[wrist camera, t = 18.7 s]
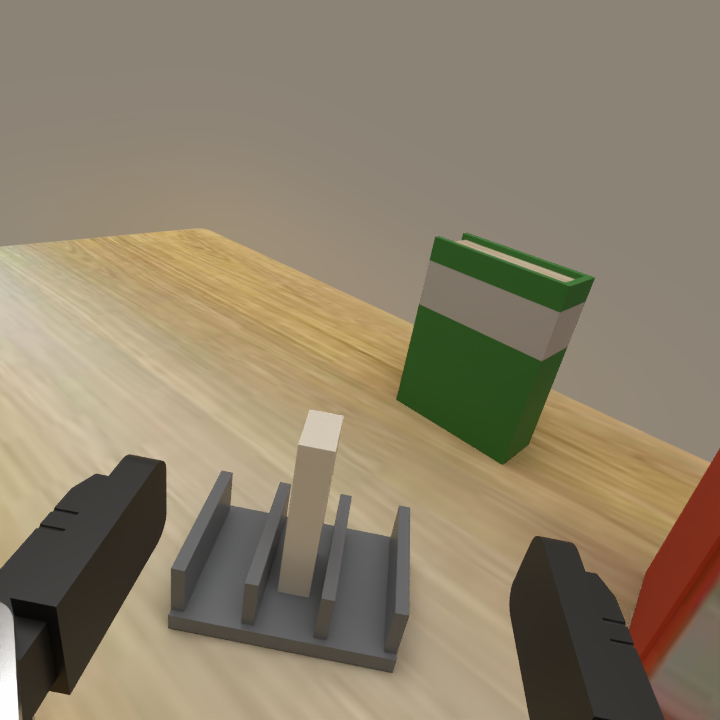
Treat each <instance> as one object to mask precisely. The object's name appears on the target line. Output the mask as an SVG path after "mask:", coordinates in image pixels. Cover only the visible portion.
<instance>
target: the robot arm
mask: <svg viewBox="0 0 720 720" xmlns="http://www.w3.org/2000/svg"><path fill="white" fill-rule="evenodd" d="M165 521H166V464H165V462H164V461H161V460H156V459H151V458H146V457H140V456H135V455H126V456H125V457H124V458H123V459H122V460H121V461H120V463H119V464H118V465H117V466H116V468H115V469H114V470H113V471H112V473H111V474H110V475H109V476H106V475H100V474H94V475H93V476H91V477H89V478H88V479H86V480H85V481H83V482H81V483H80V484H78V485H76V486H75V487H73V488H71V489H70V491H69V492H68V493H67V494H66V495H65V496H64V497H63V499H62V500H61V501H60V502H59V503H58V504H57V505H56V507H55V508H54V511H53V512H50V513H49V514H48V516H47V517H46V518H45V519H44V520H43V521H42V522H41V524H40V527H39V528H36V529H35V530H34V531H33V533H32V534H31V535H30V536H29V537H28V538H27V539H26V541H25V542H24V543H23V544H22V545H21V546H20V547H19V549H18V550H17V551H16V552H15V553H14V554H13V555H12V556H11V558H10V559H9V560H8V561H7V562H6V563H5V564H4V566H3V567H2V568H1V569H0V720H35V717H34V714H35V713H36V711H37V709H38V708H39V706H40V705H41V703H42V701H43V700H44V698H45V697H46V695H47V693H48V692H49V691H53V692H58V693H63V694H68V695H70V694H71V692H72V691H73V689H74V687H75V685H76V684H77V682H78V680H79V679H80V677H81V675H82V673H83V672H84V670H85V668H86V666H87V665H88V663H89V661H90V659H91V658H92V656H93V654H94V653H95V651H96V649H97V647H98V646H99V644H100V642H101V640H102V639H103V637H104V635H105V634H106V632H107V630H108V628H109V627H110V625H111V623H112V621H113V620H114V618H115V616H116V614H117V613H118V611H119V609H120V608H121V606H122V604H123V602H124V601H125V599H126V597H127V595H128V594H129V592H130V590H131V589H132V587H133V585H134V583H135V582H136V580H137V578H138V576H139V575H140V573H141V571H142V569H143V568H144V566H145V564H146V563H147V561H148V559H149V557H150V556H151V554H152V552H153V550H154V549H155V547H156V545H157V543H158V542H159V539H160V537H161V535H162V532H163V529H164V525H165ZM509 606H510V617H511V622H512V627H513V633H514V638H515V643H516V649H517V654H518V659H519V665H520V670H521V675H522V681H523V686H524V692H525V697H526V702H527V708H528V713H529V718H530V720H665V719H664V716H663V714H662V711H661V709H660V706H659V704H658V701H657V699H656V696H655V694H654V691H653V689H652V686H651V684H650V682H649V679H648V677H647V674H646V672H645V669H644V667H643V664H642V662H641V659H640V657H639V654H638V652H637V649H634V642H633V640H632V637H631V635H630V632H629V630H628V627H625V623H626V622H625V620H624V617H623V615H622V612H621V610H620V607H619V605H618V602H617V600H616V597H615V596H614V595H613V594H612V592H611V591H610V590H609V589H608V587H607V586H606V585H605V583H604V582H603V581H602V580H601V578H600V577H599V576H598V575H597V574H596V573H590V572H585V569H584V566H583V563H582V561H581V558H580V555H579V552H578V550H577V548H576V546H575V545H574V544H573V543H571V542H566V541H561V540H556V539H550V538H545V537H540V536H536V537H534V538H533V540H532V542H531V544H530V546H529V548H528V550H527V552H526V555H525V557H524V559H523V561H522V564H521V566H520V568H519V570H518V572H517V575H516V577H515V579H514V581H513V584H512V587H511V592H510V603H509Z"/></svg>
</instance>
